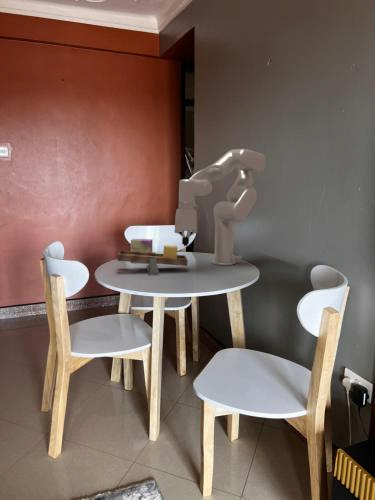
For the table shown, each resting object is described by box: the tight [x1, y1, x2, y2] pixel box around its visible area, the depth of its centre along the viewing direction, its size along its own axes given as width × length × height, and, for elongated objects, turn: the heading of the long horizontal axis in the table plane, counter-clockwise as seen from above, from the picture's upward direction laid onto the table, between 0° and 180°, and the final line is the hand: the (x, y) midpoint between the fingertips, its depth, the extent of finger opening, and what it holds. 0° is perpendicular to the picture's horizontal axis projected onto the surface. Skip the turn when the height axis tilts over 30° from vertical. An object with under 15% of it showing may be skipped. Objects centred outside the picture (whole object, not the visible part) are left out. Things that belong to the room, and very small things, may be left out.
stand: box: [146, 251, 160, 276], centre depth 178 cm, size 5×17×7 cm, turn 7°
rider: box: [162, 244, 178, 259], centre depth 178 cm, size 6×5×6 cm
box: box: [130, 238, 153, 264], centre depth 196 cm, size 10×6×12 cm, turn 84°
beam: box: [117, 250, 189, 267], centre depth 178 cm, size 32×10×3 cm, turn 97°
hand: (185, 245), depth 178 cm, fingers closed
